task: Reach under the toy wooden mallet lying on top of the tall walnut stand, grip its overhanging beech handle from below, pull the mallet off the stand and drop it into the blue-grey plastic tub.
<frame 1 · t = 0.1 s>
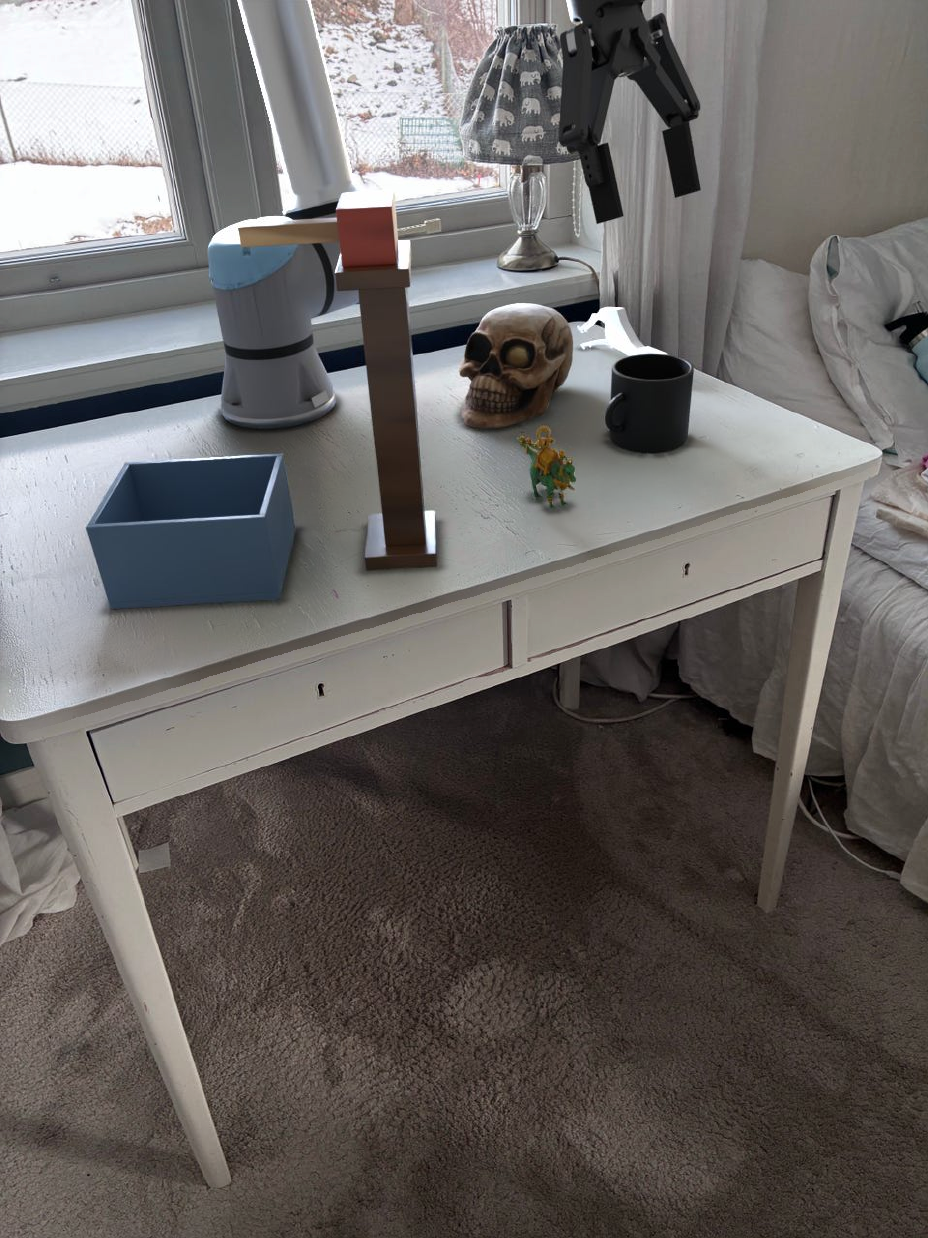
hand: (650, 206, 95), 28 cm above the table, tool tilted 20°, fingers open, 13 cm apart
tub: (208, 567, 96), on the table
mallet: (345, 257, 81), point 28 cm above the table, touching stand
tan skull model: (515, 403, 128), on the table
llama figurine: (621, 364, 139), on the table
figurine: (544, 498, 105), on the table
stand: (402, 545, 97), on the table
mug: (640, 443, 116), on the table
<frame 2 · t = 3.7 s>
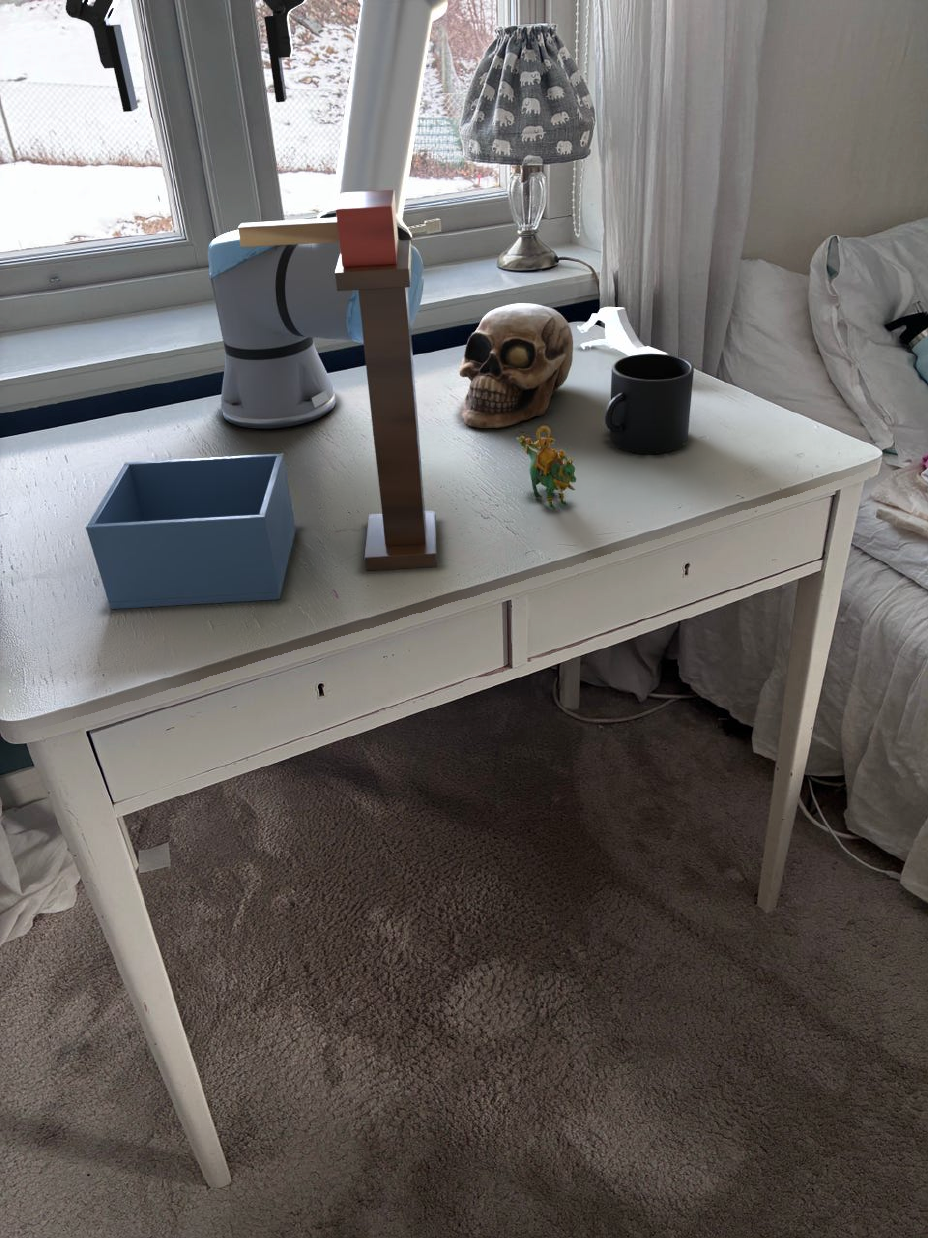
hand: (206, 105, 87), 39 cm above the table, tool pointing down, fingers open, 13 cm apart
nothing on the table moved.
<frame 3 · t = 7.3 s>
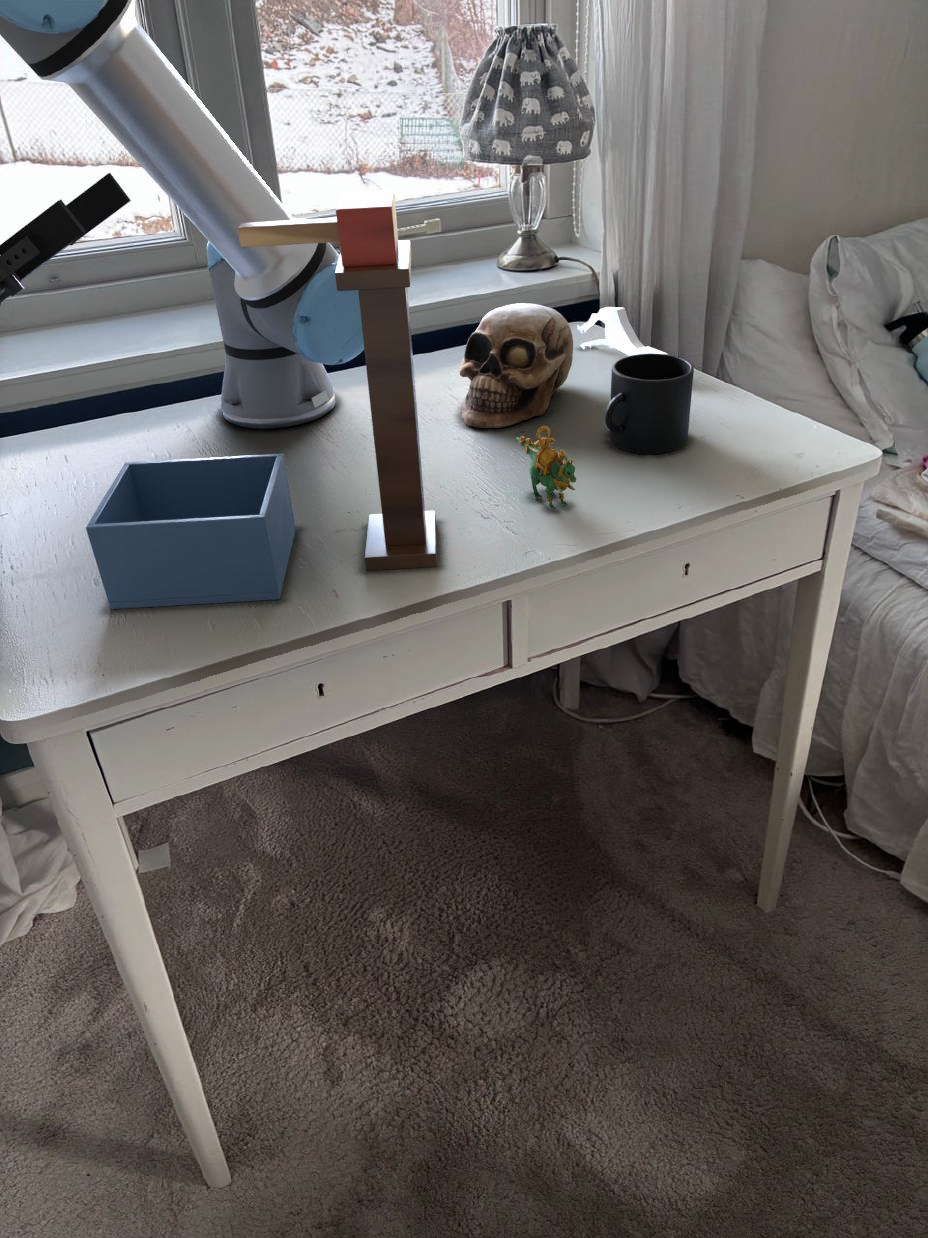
hand: (98, 200, 78), 34 cm above the table, tool pointing upward, fingers open, 13 cm apart
nothing on the table moved.
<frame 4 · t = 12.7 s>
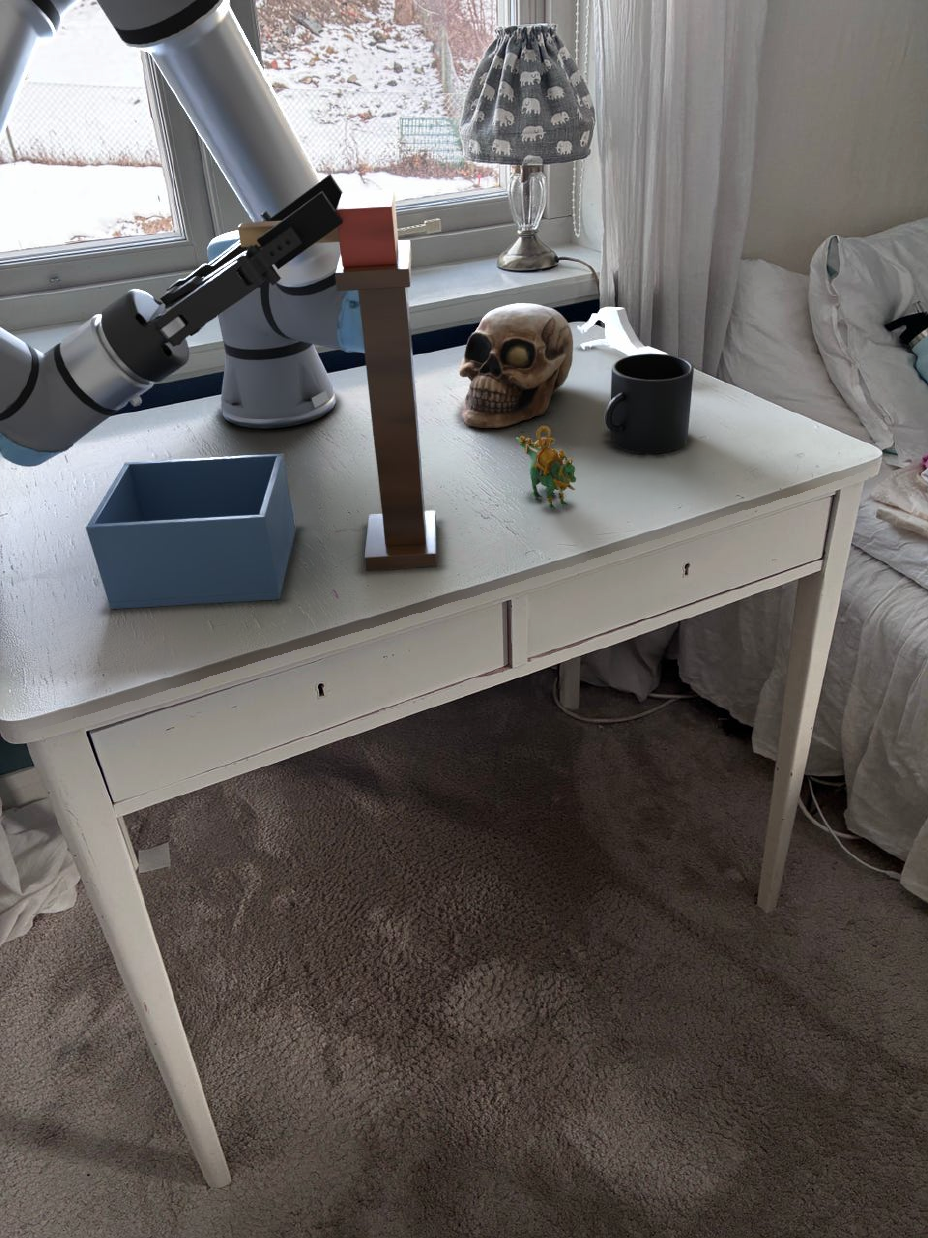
hand: (335, 197, 79), 33 cm above the table, tool pointing upward, fingers closed on mallet, 7 cm apart
mallet: (345, 257, 81), point 28 cm above the table, touching gripper, stand
everything else where it was.
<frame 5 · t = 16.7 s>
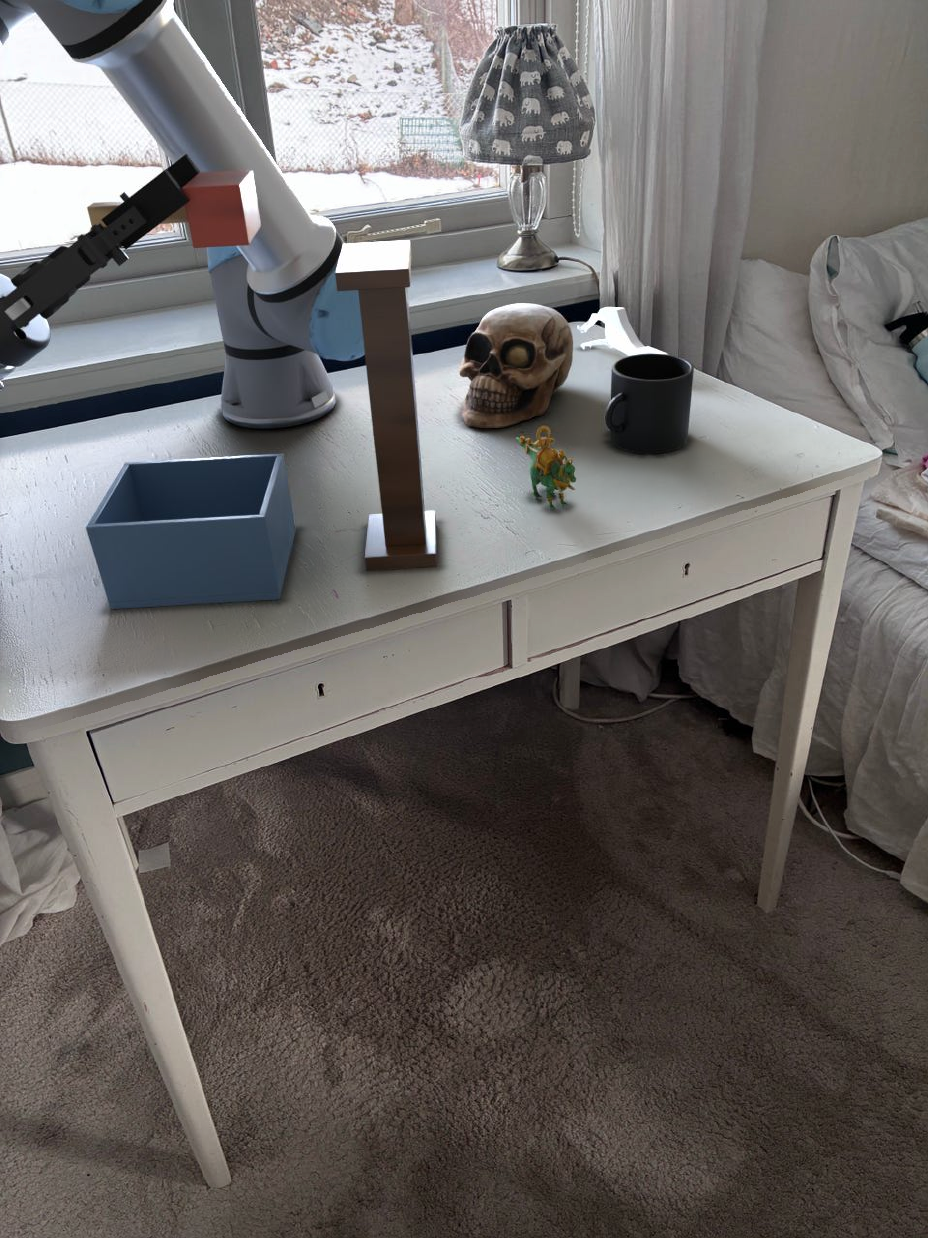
hand: (187, 176, 77), 36 cm above the table, tool pointing upward, fingers closed on mallet, 7 cm apart
mallet: (201, 238, 79), point 31 cm above the table, touching gripper
everything else where it was.
when the fingers open (22 cm above the table, at t = 20.9 s): mallet drops 17 cm, resting on tub.
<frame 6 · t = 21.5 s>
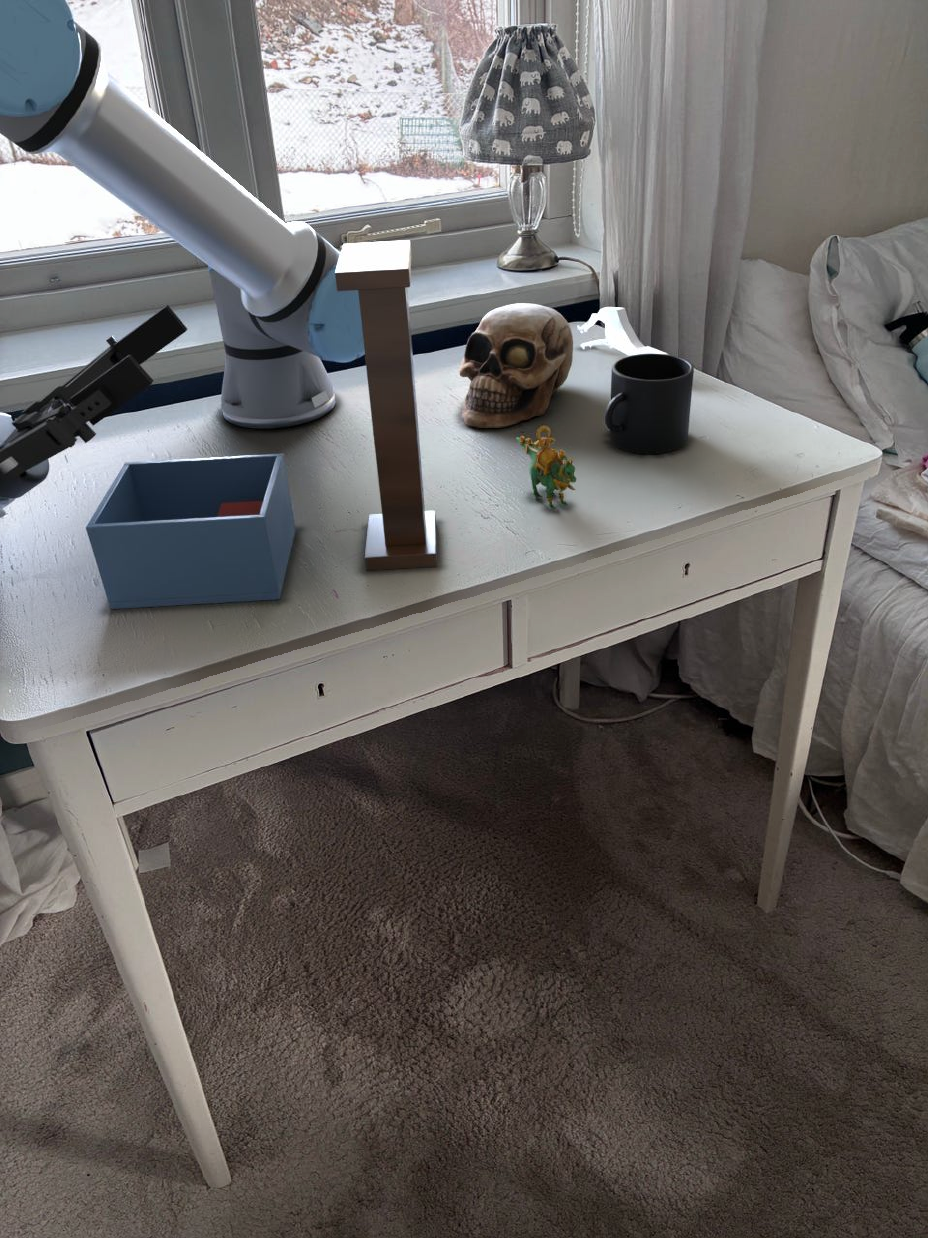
hand: (160, 341, 83), 23 cm above the table, tool pointing upward, fingers open, 13 cm apart
mallet: (223, 559, 95), point 1 cm above the table, touching tub
everything else where it was.
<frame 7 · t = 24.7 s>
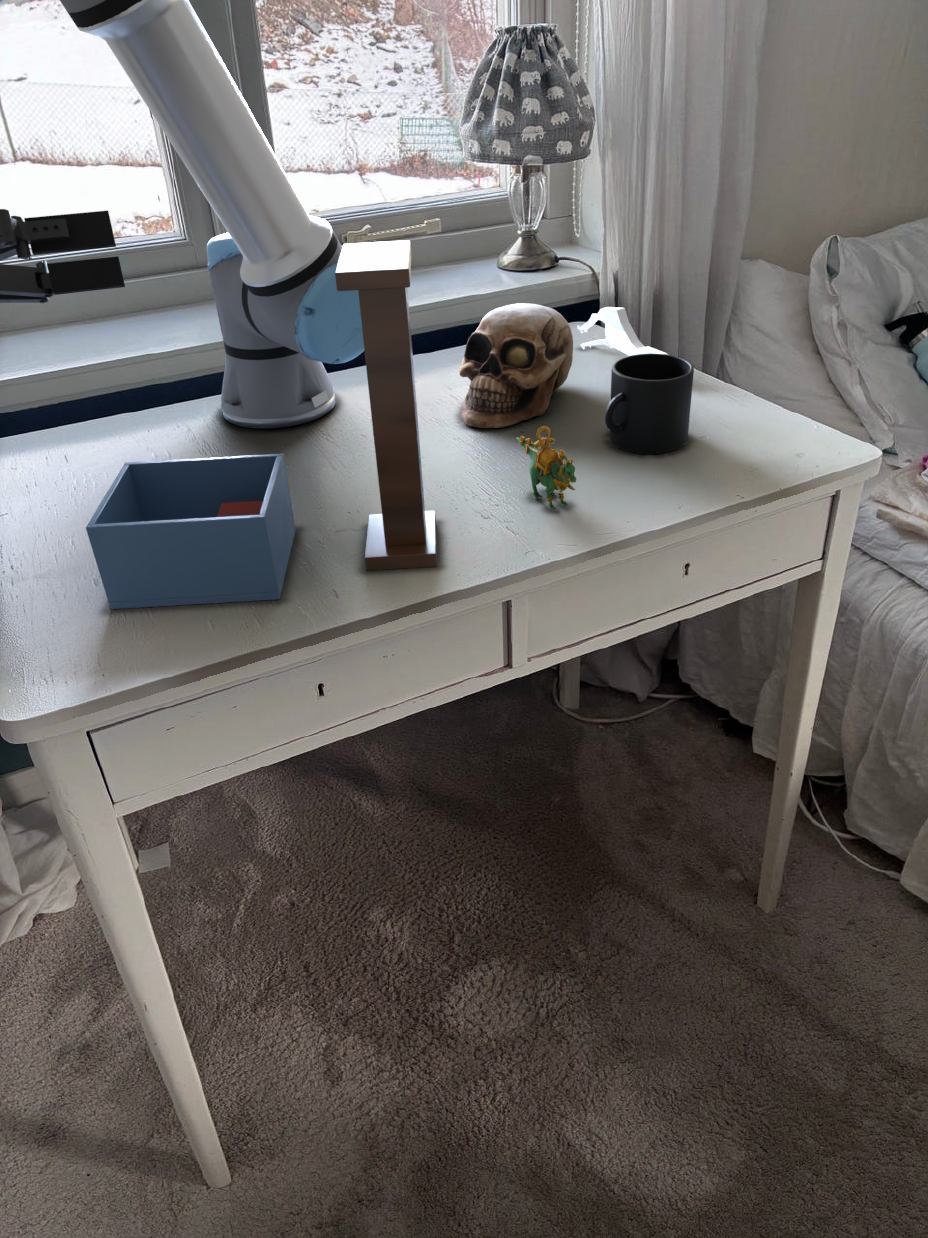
hand: (117, 251, 85), 29 cm above the table, tool horizontal, fingers open, 13 cm apart
nothing on the table moved.
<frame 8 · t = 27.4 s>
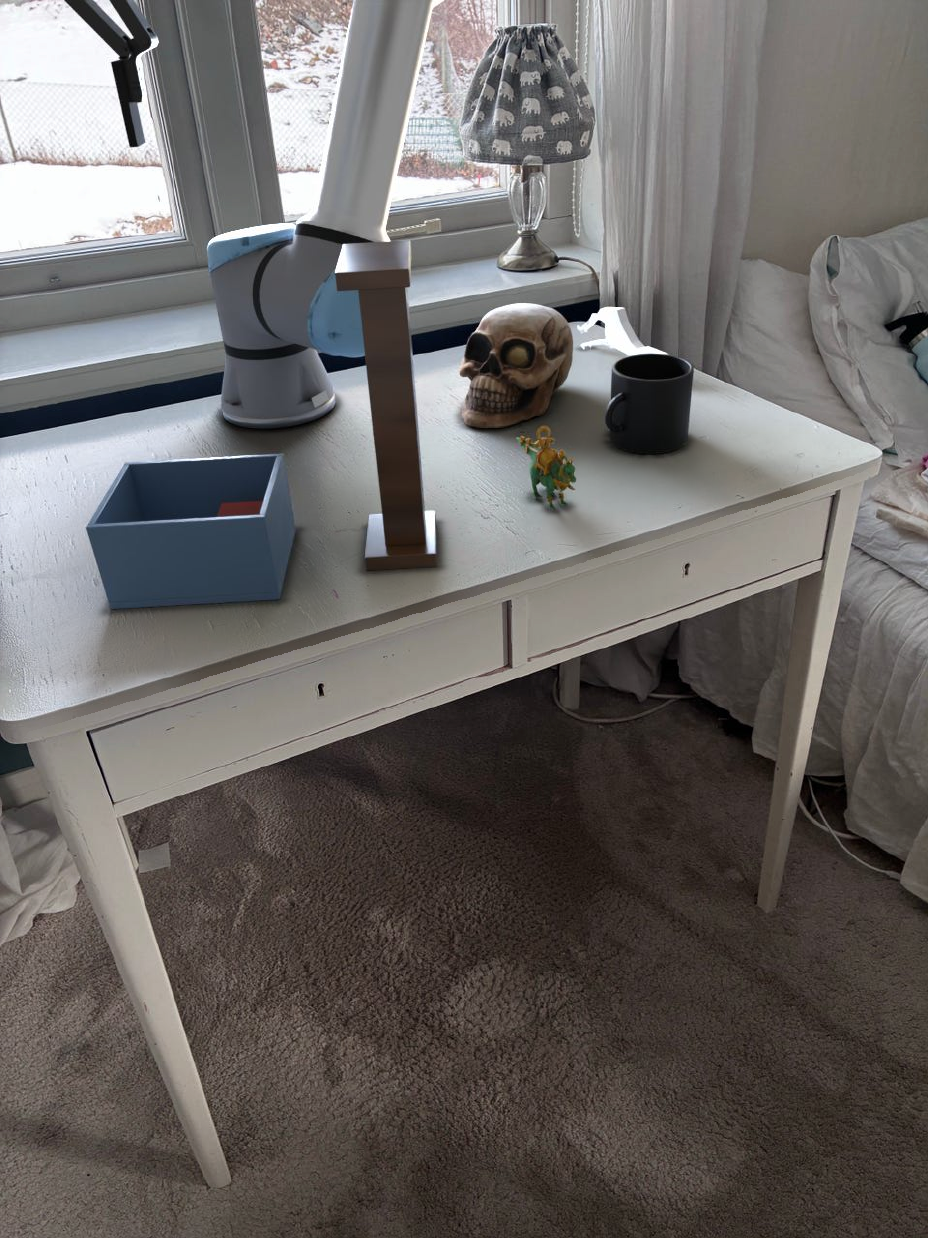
hand: (61, 149, 85), 37 cm above the table, tool pointing down, fingers open, 13 cm apart
nothing on the table moved.
at the end: mallet inside the target area in the tub (1.7 cm from its centre), point 0.8 cm above the tub's base; the gripper is holding nothing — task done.
